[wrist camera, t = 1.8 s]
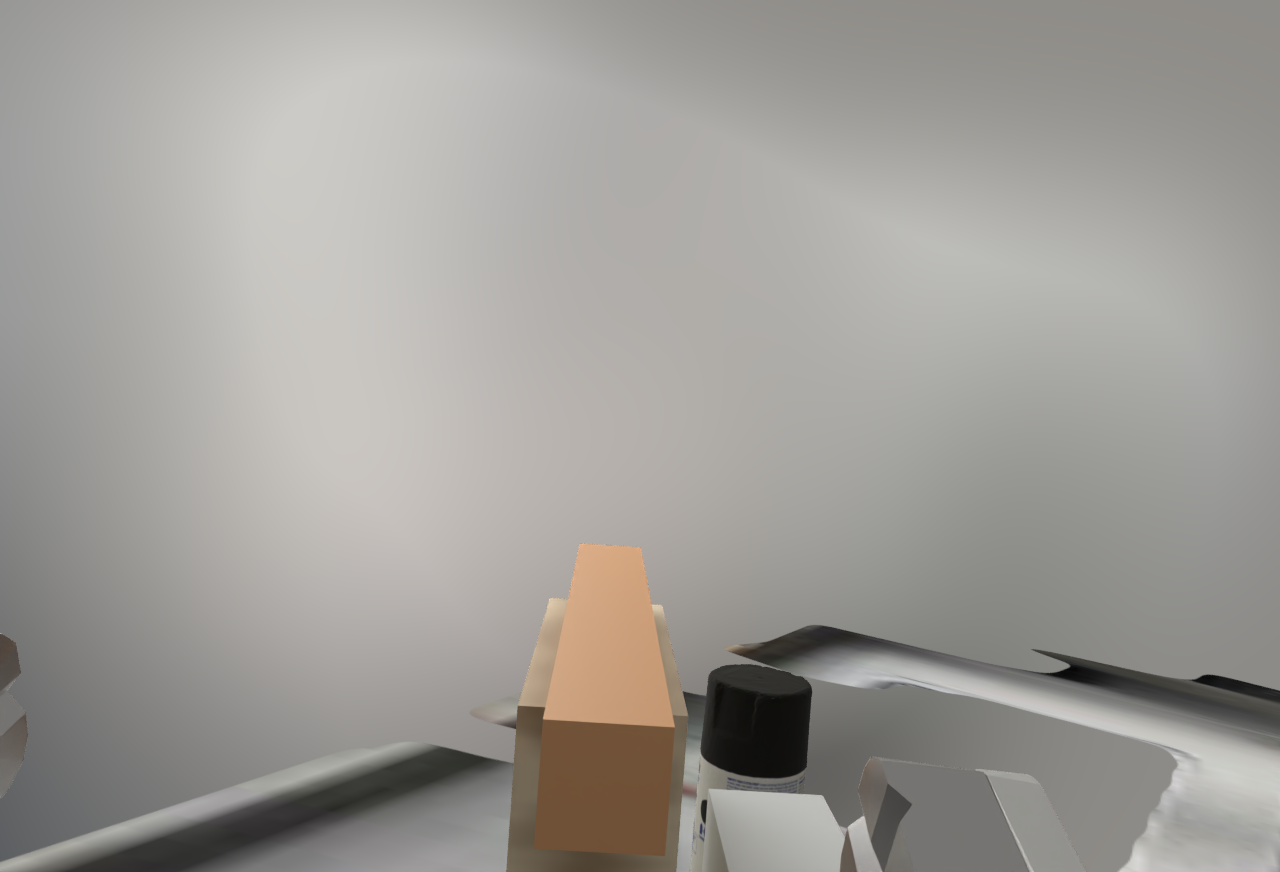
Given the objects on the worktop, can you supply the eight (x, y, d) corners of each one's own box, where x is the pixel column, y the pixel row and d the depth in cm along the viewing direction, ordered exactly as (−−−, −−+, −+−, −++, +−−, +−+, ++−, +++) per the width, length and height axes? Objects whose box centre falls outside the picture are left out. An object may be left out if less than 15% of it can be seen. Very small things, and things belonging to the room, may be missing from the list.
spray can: (715, 941, 64) (738, 655, 63) (805, 984, 60) (830, 679, 59) (660, 987, 58) (684, 675, 57) (754, 1037, 54) (782, 703, 53)
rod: (533, 848, 22) (543, 719, 22) (575, 603, 48) (579, 543, 48) (664, 855, 23) (675, 727, 22) (636, 607, 48) (640, 547, 48)
